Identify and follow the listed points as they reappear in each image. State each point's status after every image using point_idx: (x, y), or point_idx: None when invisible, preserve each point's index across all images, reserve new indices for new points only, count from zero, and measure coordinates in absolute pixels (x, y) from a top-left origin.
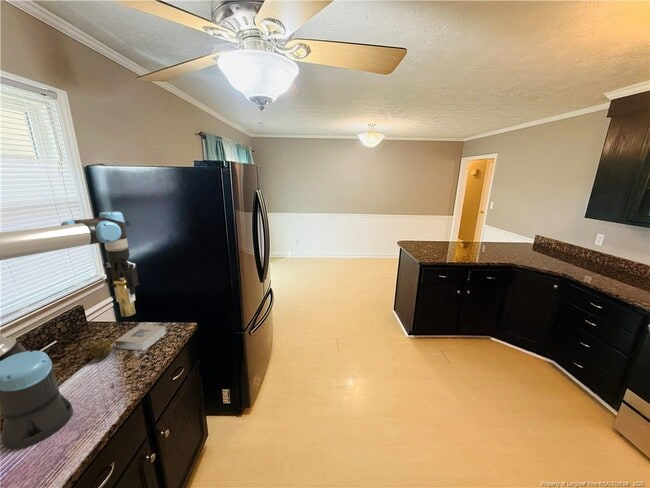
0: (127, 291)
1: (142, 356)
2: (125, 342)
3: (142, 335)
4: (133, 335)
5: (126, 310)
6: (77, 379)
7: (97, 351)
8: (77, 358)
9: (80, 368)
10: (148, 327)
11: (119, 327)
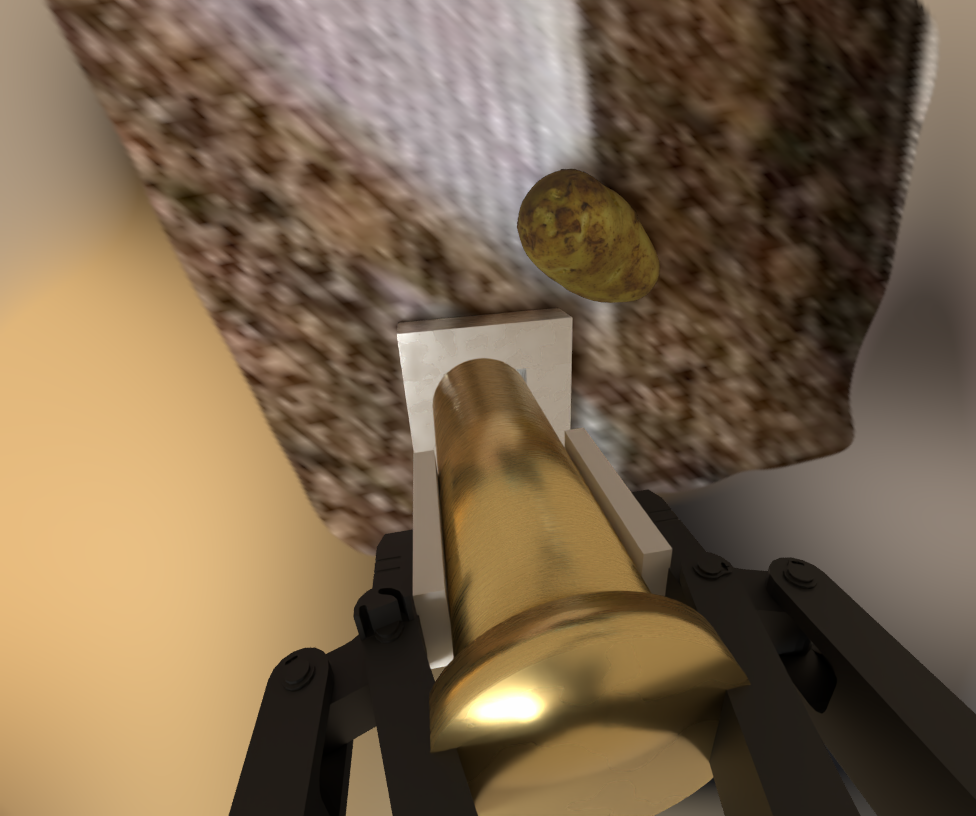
0: (430, 548)
1: (358, 281)
2: (505, 322)
3: None
4: None
5: (454, 392)
6: (525, 38)
7: (546, 178)
8: (683, 197)
9: (594, 127)
10: None
11: (691, 447)
